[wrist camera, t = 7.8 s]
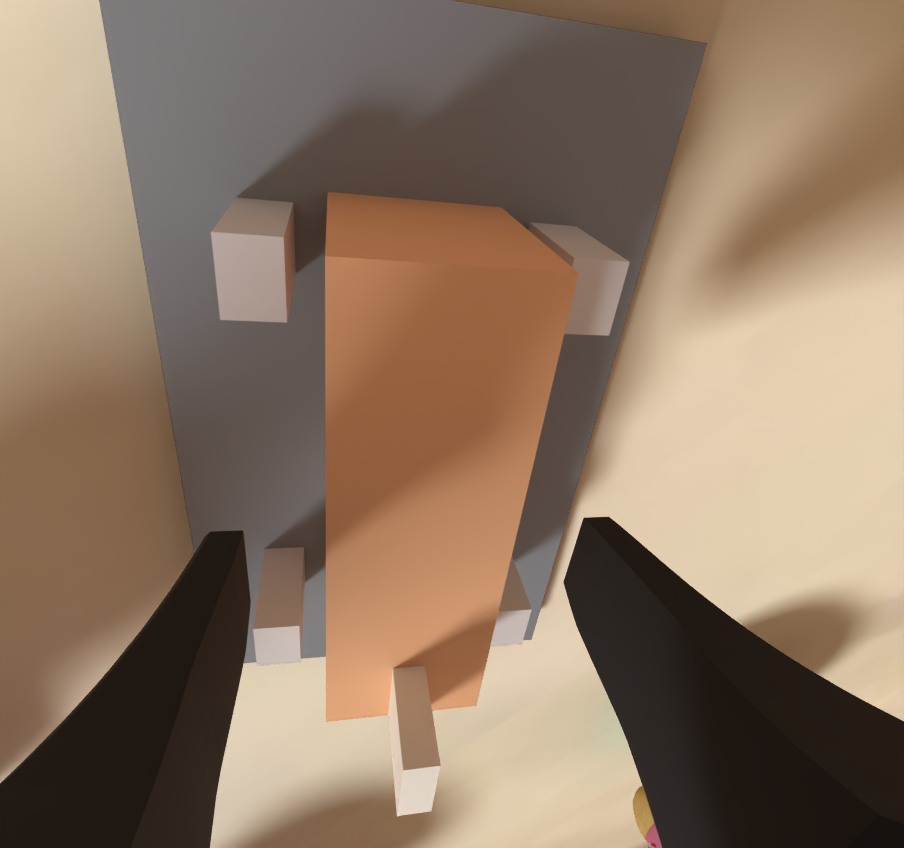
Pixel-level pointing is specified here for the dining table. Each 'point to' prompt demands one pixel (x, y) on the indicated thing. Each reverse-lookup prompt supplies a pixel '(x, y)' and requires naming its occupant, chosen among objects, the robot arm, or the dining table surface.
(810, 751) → the robot arm
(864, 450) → the dining table surface
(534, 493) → the grey pegged plate
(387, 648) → the long tan brick
